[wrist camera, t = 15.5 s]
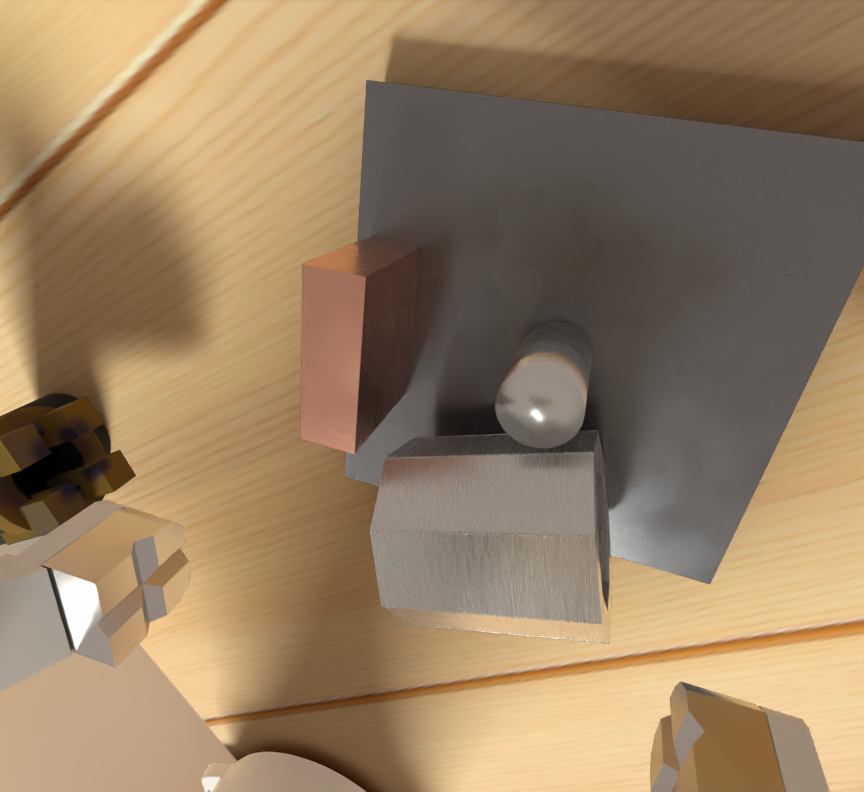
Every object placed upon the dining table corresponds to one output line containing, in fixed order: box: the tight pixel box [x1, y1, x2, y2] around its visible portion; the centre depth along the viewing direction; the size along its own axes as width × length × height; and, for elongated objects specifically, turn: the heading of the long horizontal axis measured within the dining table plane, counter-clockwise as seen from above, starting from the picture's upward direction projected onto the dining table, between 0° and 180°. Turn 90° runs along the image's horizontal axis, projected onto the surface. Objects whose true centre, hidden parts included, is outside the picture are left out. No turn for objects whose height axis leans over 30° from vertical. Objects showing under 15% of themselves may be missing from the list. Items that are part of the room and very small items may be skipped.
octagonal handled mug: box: [369, 430, 612, 644], centre depth 21 cm, size 6×10×7 cm
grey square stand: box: [300, 80, 864, 584], centre depth 18 cm, size 16×16×6 cm
